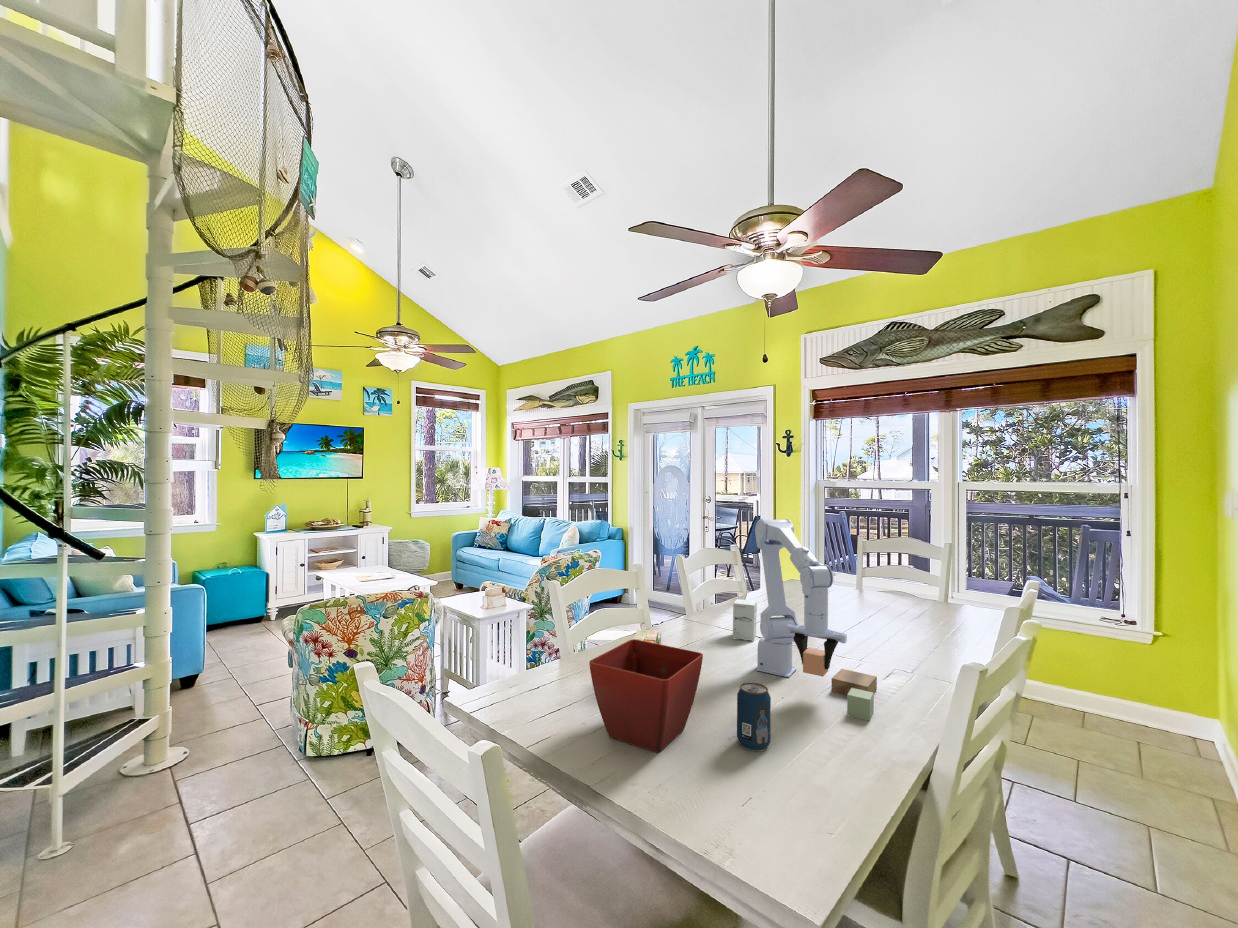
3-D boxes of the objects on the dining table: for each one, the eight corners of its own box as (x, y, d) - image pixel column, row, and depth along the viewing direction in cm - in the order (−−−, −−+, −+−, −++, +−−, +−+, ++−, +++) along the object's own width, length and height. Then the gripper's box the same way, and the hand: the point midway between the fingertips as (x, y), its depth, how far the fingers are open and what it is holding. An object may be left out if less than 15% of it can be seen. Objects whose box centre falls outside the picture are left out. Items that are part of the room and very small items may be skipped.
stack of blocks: (641, 661, 166) (641, 620, 166) (661, 662, 165) (661, 621, 165) (630, 688, 145) (630, 642, 145) (653, 690, 144) (654, 643, 144)
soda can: (745, 733, 120) (746, 678, 120) (775, 743, 116) (776, 686, 116) (730, 745, 115) (731, 688, 115) (761, 756, 110) (762, 697, 111)
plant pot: (665, 766, 106) (666, 679, 107) (586, 740, 117) (586, 661, 117) (704, 728, 123) (704, 653, 123) (631, 707, 133) (632, 638, 133)
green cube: (847, 715, 130) (847, 694, 130) (851, 708, 134) (851, 687, 134) (870, 721, 127) (870, 699, 127) (873, 713, 131) (873, 692, 131)
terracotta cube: (802, 672, 139) (802, 652, 139) (808, 666, 143) (808, 647, 143) (823, 676, 136) (823, 656, 136) (828, 670, 140) (828, 651, 140)
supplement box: (732, 639, 188) (732, 602, 189) (735, 633, 195) (736, 598, 195) (753, 642, 186) (754, 605, 186) (756, 636, 192) (757, 600, 193)
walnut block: (831, 693, 144) (831, 678, 144) (841, 683, 151) (841, 668, 151) (867, 702, 138) (867, 686, 138) (876, 691, 145) (876, 676, 145)
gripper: (782, 611, 140) (782, 664, 140) (842, 620, 132) (842, 676, 132) (791, 606, 146) (790, 656, 146) (848, 614, 138) (848, 668, 138)
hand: (815, 665), depth 139 cm, fingers closed on terracotta cube, 5 cm apart
